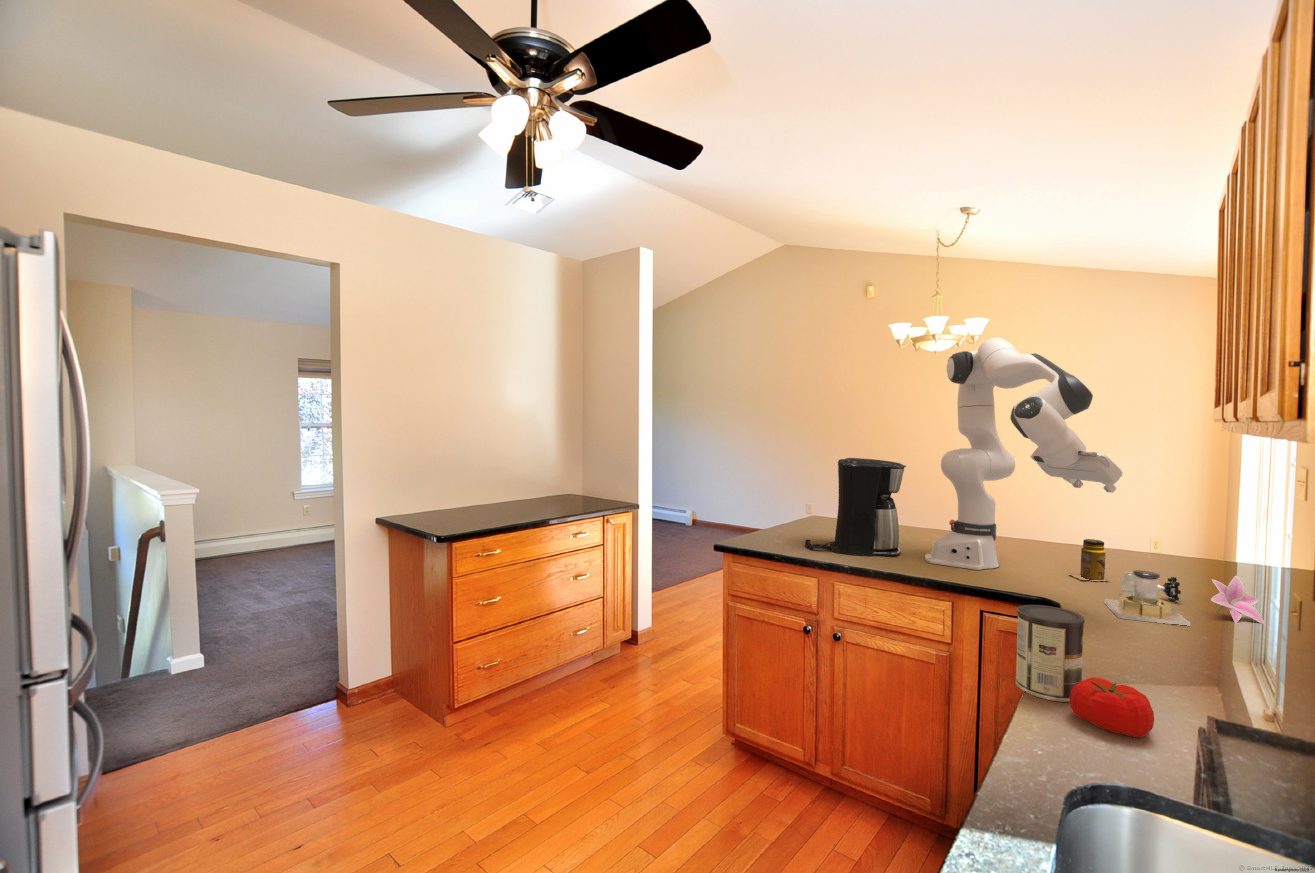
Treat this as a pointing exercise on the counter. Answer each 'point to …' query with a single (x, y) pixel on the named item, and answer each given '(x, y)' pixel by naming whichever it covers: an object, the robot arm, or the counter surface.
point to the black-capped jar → (1145, 587)
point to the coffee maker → (866, 508)
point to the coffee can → (1049, 651)
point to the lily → (1236, 600)
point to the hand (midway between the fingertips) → (1095, 488)
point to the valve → (1167, 587)
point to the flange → (1145, 611)
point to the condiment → (1092, 560)
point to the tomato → (1112, 707)
